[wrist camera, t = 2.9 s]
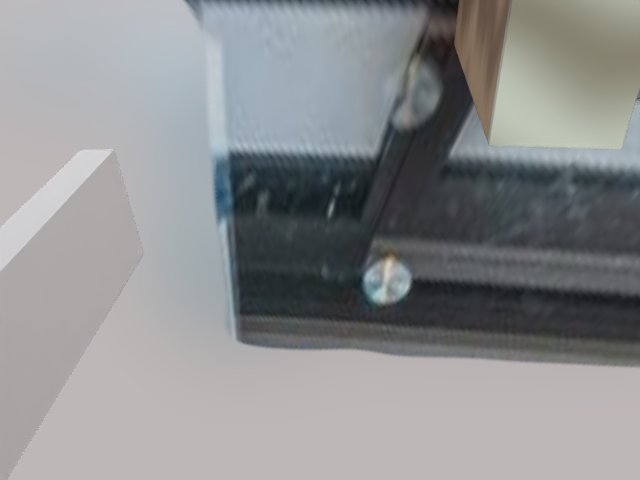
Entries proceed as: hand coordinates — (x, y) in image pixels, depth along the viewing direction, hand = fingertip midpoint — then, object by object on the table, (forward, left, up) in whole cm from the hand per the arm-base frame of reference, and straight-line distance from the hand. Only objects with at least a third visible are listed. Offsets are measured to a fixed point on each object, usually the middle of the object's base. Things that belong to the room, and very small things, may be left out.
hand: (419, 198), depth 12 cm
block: (-1, +6, -25) cm, 26 cm away
